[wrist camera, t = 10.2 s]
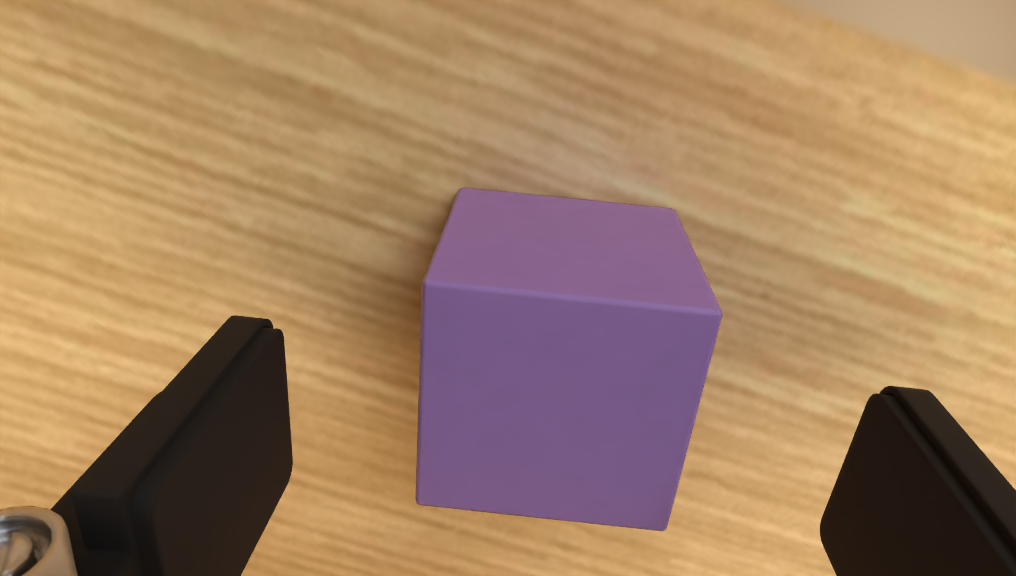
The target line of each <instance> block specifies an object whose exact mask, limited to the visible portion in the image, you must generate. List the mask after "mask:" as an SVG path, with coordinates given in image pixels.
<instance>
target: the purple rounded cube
mask: <svg viewBox="0 0 1016 576" xmlns="http://www.w3.org/2000/svg"><path fill="white" fill-rule="evenodd" d="M721 318H722V310H721V308H720V306H719V304H718V302H717V299H716V297H715V295H714V293H713V291H712V289H711V287H710V284H709V282H708V280H707V278H706V276H705V274H704V271H703V269H702V267H701V265H700V263H699V261H698V259H697V256H696V254H695V252H694V250H693V248H692V246H691V243H690V241H689V239H688V237H687V235H686V233H685V230H684V228H683V226H682V224H681V222H680V220H679V218H678V215H677V213H676V211H675V210H674V209H672V208H662V207H652V206H642V205H632V204H622V203H612V202H602V201H592V200H582V199H572V198H562V197H552V196H542V195H532V194H522V193H512V192H502V191H493V190H483V189H473V188H460V189H459V191H458V193H457V196H456V198H455V201H454V203H453V206H452V209H451V211H450V214H449V216H448V219H447V221H446V224H445V226H444V229H443V231H442V234H441V236H440V239H439V241H438V244H437V247H436V249H435V252H434V254H433V257H432V259H431V262H430V264H429V267H428V269H427V272H426V274H425V277H424V279H423V282H422V296H421V330H420V363H419V397H418V431H417V465H416V502H417V504H419V505H425V506H434V507H443V508H453V509H462V510H471V511H480V512H490V513H499V514H508V515H517V516H527V517H536V518H545V519H554V520H563V521H573V522H582V523H591V524H600V525H610V526H619V527H628V528H637V529H647V530H656V531H664V530H666V528H667V525H668V521H669V518H670V514H671V510H672V506H673V502H674V498H675V495H676V491H677V487H678V483H679V479H680V475H681V471H682V468H683V464H684V460H685V456H686V452H687V448H688V445H689V441H690V437H691V433H692V429H693V425H694V422H695V418H696V414H697V410H698V406H699V402H700V398H701V395H702V391H703V387H704V383H705V379H706V375H707V372H708V368H709V364H710V360H711V356H712V352H713V349H714V345H715V341H716V337H717V333H718V329H719V326H720V322H721Z"/></svg>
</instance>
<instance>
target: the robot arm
mask: <svg viewBox="0 0 1016 576" xmlns="http://www.w3.org/2000/svg"><path fill="white" fill-rule="evenodd" d="M292 465H293V457H292V443H291V430H290V416H289V402H288V388H287V374H286V361H285V347H284V336H283V333H282V331H281V330H280V329H273V325H272V322H271V321H270V320H269V319H263V318H254V317H244V316H231V317H230V318H229V319H228V320H227V321H226V322H225V323H224V324H223V325H222V326H221V327H220V328H219V330H218V331H217V332H216V333H215V334H214V335H213V336H212V337H211V338H210V339H209V340H208V342H207V343H206V344H205V345H204V346H203V347H202V348H201V349H200V350H199V351H198V353H197V354H196V355H195V356H194V357H193V358H192V359H191V360H190V361H189V362H188V363H187V365H186V366H185V367H184V368H183V369H182V370H181V371H180V372H179V373H178V374H177V376H176V377H175V378H174V379H173V380H172V381H171V382H170V383H169V384H168V385H167V387H166V388H165V389H164V390H163V391H162V392H160V393H159V394H157V395H156V396H155V397H154V398H153V399H152V400H151V401H150V402H149V403H148V404H147V405H146V406H145V407H144V408H143V409H142V411H141V412H140V413H139V414H138V415H137V416H136V417H135V418H134V419H133V420H132V421H131V423H130V424H129V425H128V426H127V427H126V428H125V429H124V430H123V431H122V432H121V433H120V435H119V436H118V437H117V438H116V439H115V440H114V441H113V442H112V443H111V444H110V445H109V446H108V448H107V449H106V450H105V451H104V452H103V453H102V454H101V455H100V456H99V457H98V458H97V460H96V461H95V462H94V463H93V464H92V465H91V466H90V467H89V468H88V469H87V470H86V472H85V473H84V474H83V475H82V476H81V477H80V478H79V479H78V480H77V481H76V482H75V483H74V485H73V486H72V487H71V488H70V489H69V490H68V491H67V492H66V493H65V494H64V495H63V497H62V498H61V499H60V500H59V501H58V502H57V503H56V504H55V505H54V506H53V507H52V509H51V510H50V509H46V508H41V507H35V506H21V507H9V508H5V509H1V510H0V576H241V574H242V572H243V570H244V568H245V566H246V564H247V562H248V560H249V558H250V556H251V554H252V552H253V551H254V549H255V547H256V545H257V543H258V541H259V539H260V537H261V535H262V533H263V531H264V529H265V527H266V525H267V523H268V521H269V519H270V517H271V515H272V514H273V512H274V510H275V508H276V506H277V504H278V502H279V500H280V498H281V496H282V494H283V492H284V490H285V488H286V486H287V484H288V482H289V479H290V476H291V472H292ZM820 536H821V541H822V544H823V546H824V549H825V551H826V553H827V555H828V558H829V560H830V562H831V564H832V566H833V569H834V571H835V573H836V575H837V576H1016V490H1015V489H1014V488H1013V487H1012V486H1011V484H1010V483H1009V482H1008V481H1007V480H1006V479H1005V477H1004V476H1003V475H1002V474H1001V473H1000V472H999V470H998V469H997V468H996V467H995V466H994V465H993V463H992V462H991V461H990V460H989V459H988V458H987V456H986V455H985V454H984V453H983V452H982V451H981V449H980V448H979V447H978V446H977V445H976V444H975V442H974V441H973V440H972V439H971V438H970V437H969V435H968V434H967V433H966V432H965V431H964V430H963V428H962V427H961V426H960V425H959V424H958V423H957V421H956V420H955V419H954V418H953V417H952V416H951V414H950V413H949V412H948V411H947V410H946V409H945V407H944V406H943V405H942V404H941V403H940V402H939V401H938V399H937V398H936V397H935V396H934V395H933V394H932V393H931V392H930V391H928V390H923V389H914V388H905V387H895V386H888V387H885V388H884V389H883V390H882V391H881V392H880V394H873V395H872V396H871V397H870V398H869V400H868V401H867V404H866V406H865V409H864V411H863V414H862V417H861V419H860V422H859V424H858V427H857V429H856V432H855V434H854V437H853V440H852V442H851V445H850V447H849V450H848V452H847V455H846V457H845V460H844V463H843V465H842V468H841V470H840V473H839V475H838V478H837V481H836V483H835V486H834V488H833V491H832V493H831V496H830V498H829V501H828V504H827V506H826V509H825V511H824V514H823V516H822V519H821V523H820Z"/></svg>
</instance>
